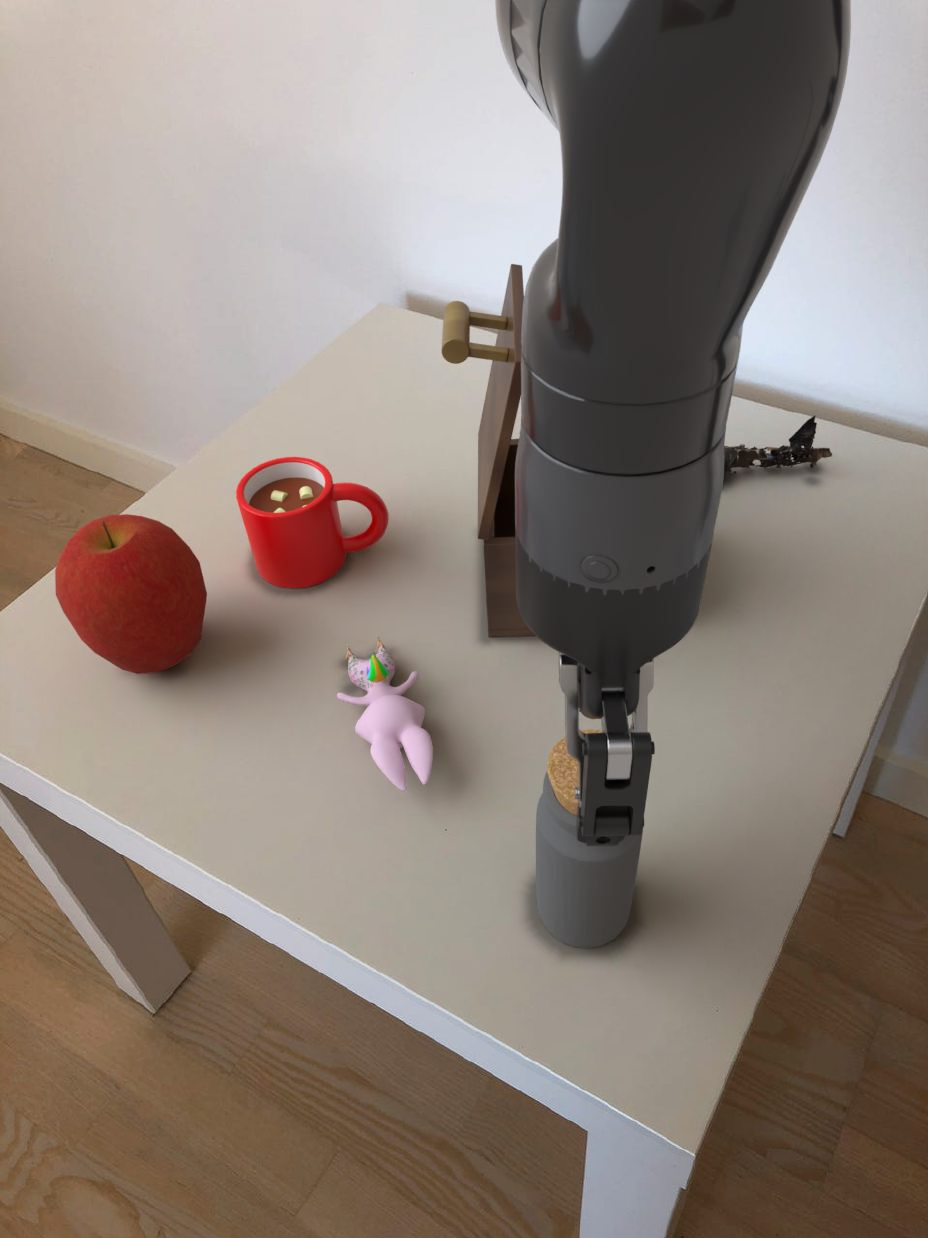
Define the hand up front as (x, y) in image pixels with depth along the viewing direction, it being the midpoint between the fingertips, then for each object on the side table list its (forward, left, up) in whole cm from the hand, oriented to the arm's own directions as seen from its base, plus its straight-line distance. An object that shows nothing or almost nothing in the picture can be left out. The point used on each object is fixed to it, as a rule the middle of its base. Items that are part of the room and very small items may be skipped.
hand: (592, 761), depth 48 cm
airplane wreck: (-16, -41, -16) cm, 47 cm away
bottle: (0, 0, -16) cm, 16 cm away
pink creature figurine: (+13, -14, -16) cm, 25 cm away
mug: (+20, -33, -16) cm, 42 cm away
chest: (-1, -29, -15) cm, 33 cm away
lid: (+4, -29, +2) cm, 29 cm away
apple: (+32, -22, -16) cm, 42 cm away
